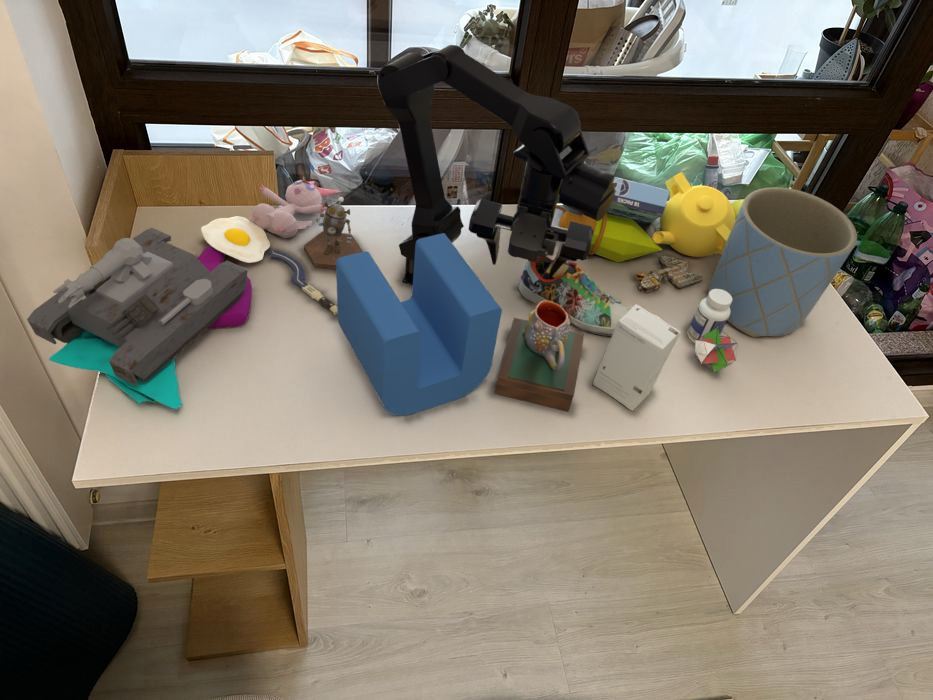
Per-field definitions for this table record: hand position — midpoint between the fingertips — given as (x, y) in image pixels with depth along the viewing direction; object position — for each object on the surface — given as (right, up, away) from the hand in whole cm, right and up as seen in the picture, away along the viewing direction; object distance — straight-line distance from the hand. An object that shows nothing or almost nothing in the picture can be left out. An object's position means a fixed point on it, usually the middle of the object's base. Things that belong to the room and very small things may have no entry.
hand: (521, 270), depth 120 cm
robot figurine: (-34, +5, +16) cm, 38 cm away
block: (-18, -16, -1) cm, 24 cm away
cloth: (-60, -13, -9) cm, 62 cm away
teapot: (+35, +11, +29) cm, 47 cm away
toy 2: (-46, +9, +14) cm, 49 cm away
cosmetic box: (+16, -19, 0) cm, 25 cm away
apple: (+47, +11, +33) cm, 58 cm away
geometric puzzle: (+36, -11, +6) cm, 38 cm away
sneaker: (+10, -6, +12) cm, 17 cm away
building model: (+29, 0, +21) cm, 36 cm away
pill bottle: (+33, -11, +11) cm, 36 cm away
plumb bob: (+16, +6, +25) cm, 30 cm away
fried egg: (-50, +7, +12) cm, 52 cm away
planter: (+45, -5, +18) cm, 48 cm away
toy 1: (-59, -8, -3) cm, 60 cm away
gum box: (+21, +18, +34) cm, 44 cm away
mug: (+4, -14, -2) cm, 14 cm away
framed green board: (+3, -16, +1) cm, 17 cm away
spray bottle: (-52, -1, +8) cm, 52 cm away
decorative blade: (-36, +1, +12) cm, 38 cm away
